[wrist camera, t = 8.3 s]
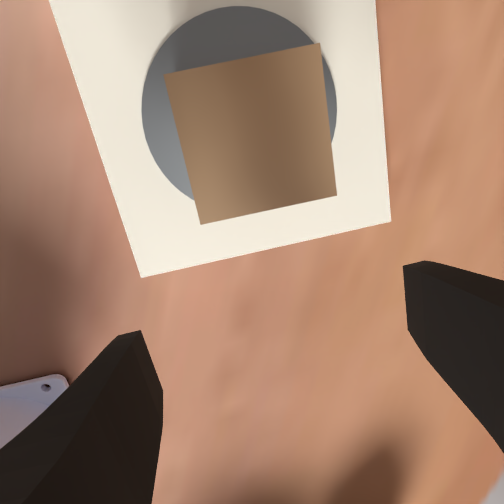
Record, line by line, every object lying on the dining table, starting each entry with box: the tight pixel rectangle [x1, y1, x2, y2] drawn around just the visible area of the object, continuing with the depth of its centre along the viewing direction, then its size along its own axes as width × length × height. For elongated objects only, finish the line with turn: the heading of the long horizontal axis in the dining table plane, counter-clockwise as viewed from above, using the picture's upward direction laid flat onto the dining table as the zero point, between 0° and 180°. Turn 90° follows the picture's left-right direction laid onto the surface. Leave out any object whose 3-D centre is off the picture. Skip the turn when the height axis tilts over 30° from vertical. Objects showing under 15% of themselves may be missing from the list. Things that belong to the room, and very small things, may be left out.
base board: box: [49, 0, 391, 278], centre depth 18 cm, size 12×12×2 cm
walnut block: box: [163, 43, 337, 225], centre depth 15 cm, size 4×4×5 cm
